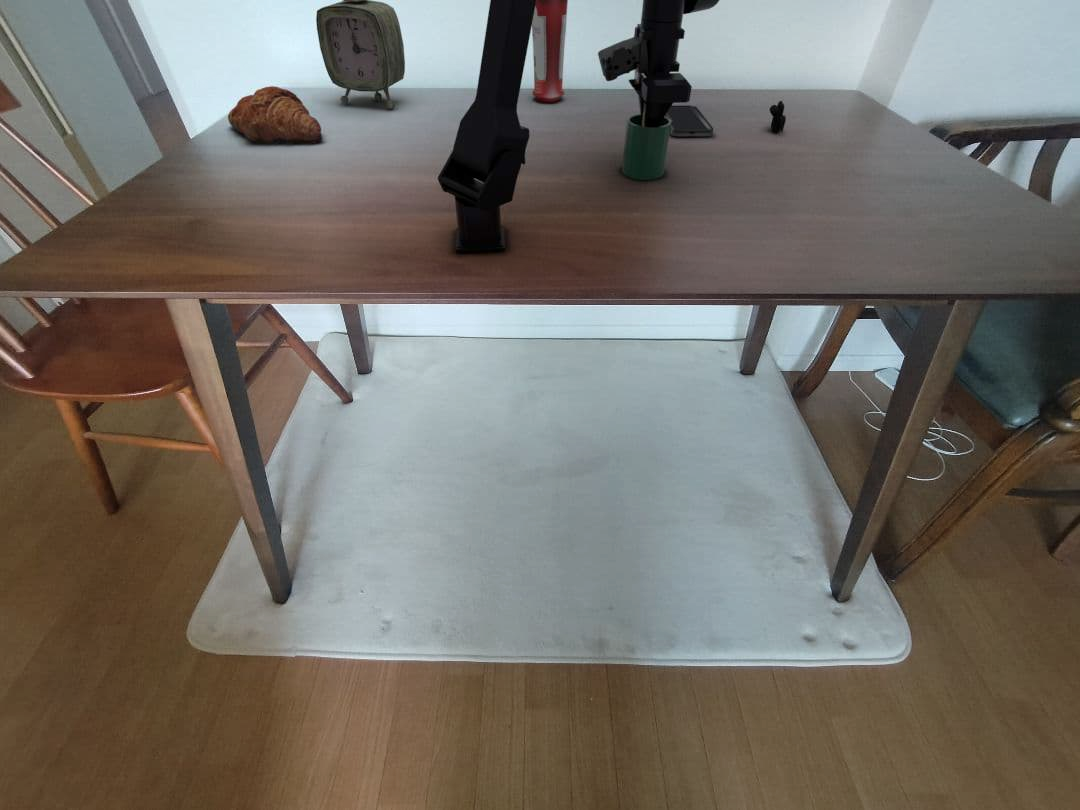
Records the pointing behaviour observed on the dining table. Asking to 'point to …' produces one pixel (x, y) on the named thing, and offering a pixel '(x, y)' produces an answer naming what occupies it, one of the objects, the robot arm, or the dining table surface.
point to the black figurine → (777, 117)
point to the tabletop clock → (361, 46)
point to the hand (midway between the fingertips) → (647, 135)
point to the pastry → (274, 117)
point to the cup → (645, 149)
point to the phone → (688, 122)
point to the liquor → (549, 48)
